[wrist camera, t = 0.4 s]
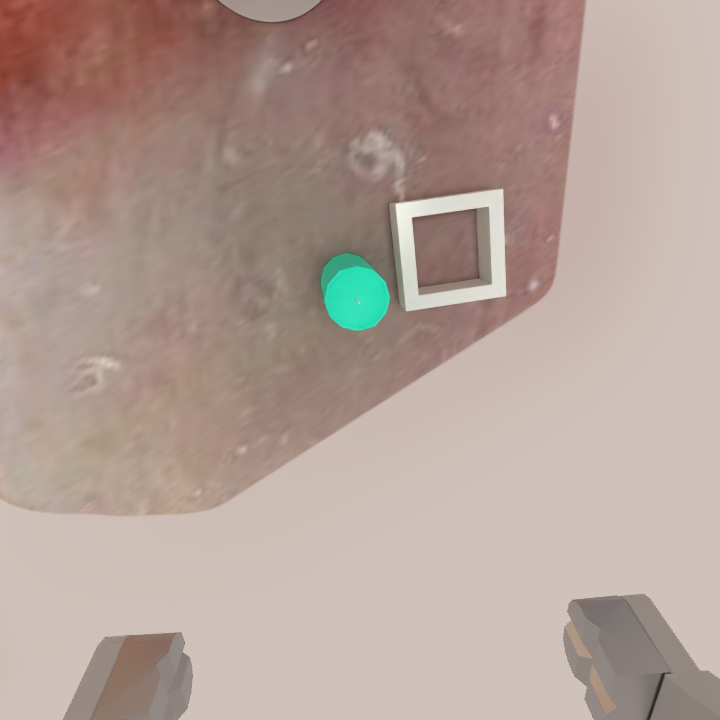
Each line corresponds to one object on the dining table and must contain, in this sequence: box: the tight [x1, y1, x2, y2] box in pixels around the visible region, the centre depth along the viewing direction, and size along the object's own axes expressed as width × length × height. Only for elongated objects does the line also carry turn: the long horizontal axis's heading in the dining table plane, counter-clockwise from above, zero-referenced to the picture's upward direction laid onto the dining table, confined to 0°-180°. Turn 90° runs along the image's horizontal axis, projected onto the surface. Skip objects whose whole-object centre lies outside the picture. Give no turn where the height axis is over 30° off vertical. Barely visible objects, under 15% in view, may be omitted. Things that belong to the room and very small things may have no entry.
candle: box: [321, 253, 390, 331], centre depth 48 cm, size 6×6×12 cm
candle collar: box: [389, 189, 506, 311], centre depth 52 cm, size 11×11×4 cm
